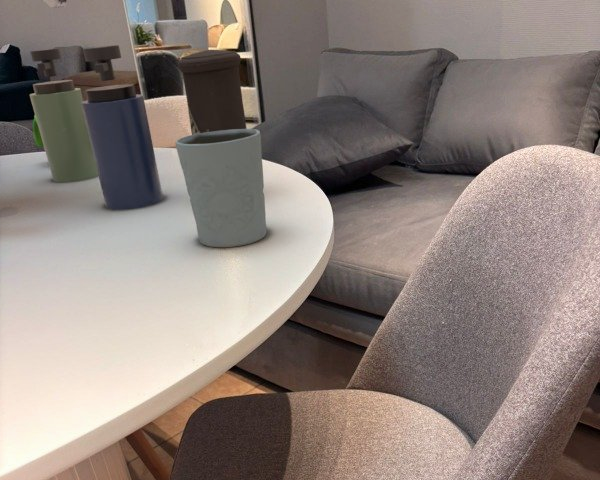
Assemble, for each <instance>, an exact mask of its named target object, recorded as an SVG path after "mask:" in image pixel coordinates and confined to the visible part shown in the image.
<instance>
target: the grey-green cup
mask: <svg viewBox="0 0 600 480" xmlns="http://www.w3.org/2000/svg"><path fill="white" fill-rule="evenodd" d="M174 144H175V147H176V152H177V156H178V159H179V164H180V167H181V170H182V174H183V177H184V181H185V185H186V190H187V194H188V196H189V201H190V205H191V209H192V213H193V218H194V221H195V225H196V232H197V235H198V236H197V237H198V239H199V242H200V243H201V244H202V245H203V246H207V247H211V248H232V247H233V248H234V247H240V246H245V245H249V244H253V243H255V242H258V241H260V240H262V239H263V238H265V237H266V236H267V229H268V228H267V219H266V218H267V217H266V200H265V199H266V198H265V193H264V186H265V184H264V169H263V167H264V165H263V156H262V137H261V131H260V130H259V129H257V128H256V129H254V128H246V129H232V130H220V131H213V132H205V133H200V134H194V135H192V134H191V135H190V134H189V135H186V136H184V137H180V138H178V139H176V141H175V142H174Z"/></svg>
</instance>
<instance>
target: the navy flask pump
mask: <svg viewBox="0 0 600 480" xmlns="http://www.w3.org/2000/svg"><path fill="white" fill-rule="evenodd" d="M120 49H121V48H120V45H119V44H116V45H115V44H113V45H104V46H95V47H86V48H82V51H83V55H84V60H85V62H87V63H89V62H92V63H93V62H96V63H95V64H93V68H94V71H95V73H96V74H99V77H100V81H101V82H105V81H113V80H115V79H116V78H115V77H116V76H115V72H114V67H113V62H112V60H117V59H118V60H119V59H121V58H122V55H121V50H120Z"/></svg>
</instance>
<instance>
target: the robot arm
mask: <svg viewBox="0 0 600 480" xmlns="http://www.w3.org/2000/svg"><path fill="white" fill-rule="evenodd" d="M42 1H43V2H44V3H45V4H46V5H48V6H49V7H50V8H51V9H54V8H65V7H66V8H67V6H68V3H69V2H70V0H42Z"/></svg>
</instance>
